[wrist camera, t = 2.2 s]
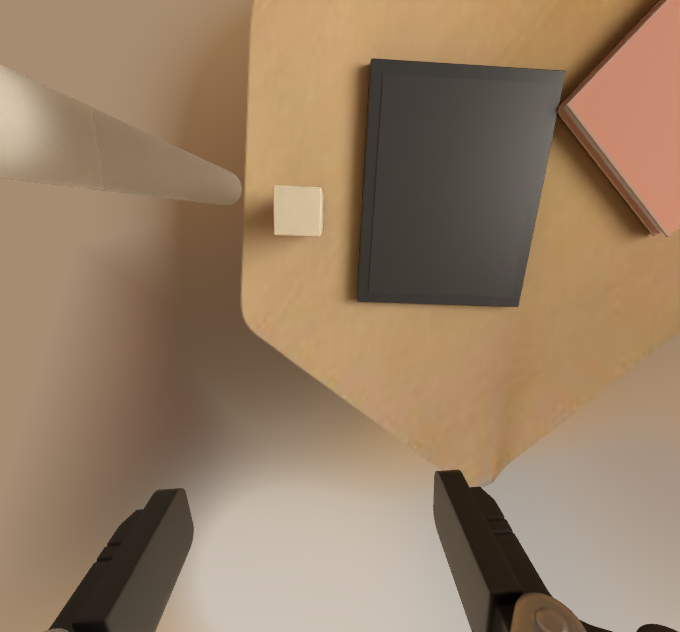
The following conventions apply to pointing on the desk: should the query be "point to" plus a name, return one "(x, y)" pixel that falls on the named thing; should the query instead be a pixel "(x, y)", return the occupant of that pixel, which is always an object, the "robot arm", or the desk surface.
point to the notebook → (636, 117)
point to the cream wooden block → (298, 210)
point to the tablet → (452, 180)
